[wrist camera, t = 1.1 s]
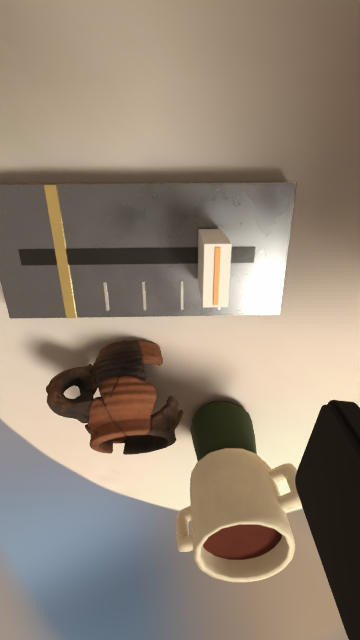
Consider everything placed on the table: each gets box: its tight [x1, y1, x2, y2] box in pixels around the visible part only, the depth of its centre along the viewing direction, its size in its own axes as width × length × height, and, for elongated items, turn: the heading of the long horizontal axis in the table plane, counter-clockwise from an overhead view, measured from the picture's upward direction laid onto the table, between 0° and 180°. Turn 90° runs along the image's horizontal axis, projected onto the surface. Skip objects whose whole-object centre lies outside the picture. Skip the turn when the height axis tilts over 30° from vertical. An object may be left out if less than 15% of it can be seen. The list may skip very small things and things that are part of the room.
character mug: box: [177, 402, 302, 582], centre depth 28 cm, size 11×7×13 cm, turn 123°
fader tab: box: [198, 229, 232, 308], centre depth 22 cm, size 2×4×5 cm, turn 0°
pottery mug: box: [46, 341, 183, 454], centre depth 30 cm, size 12×10×8 cm
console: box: [0, 182, 297, 318], centre depth 26 cm, size 22×10×2 cm, turn 90°
